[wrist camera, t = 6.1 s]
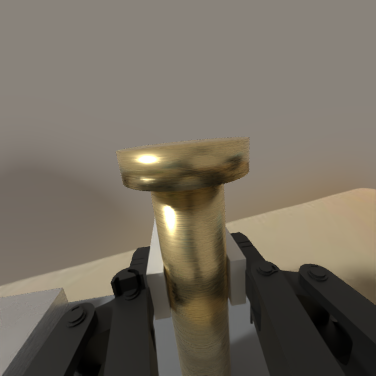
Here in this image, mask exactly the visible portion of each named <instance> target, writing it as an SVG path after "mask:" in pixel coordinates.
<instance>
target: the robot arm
mask: <svg viewBox="0 0 376 376" xmlns="http://www.w3.org/2000/svg"><path fill="white" fill-rule="evenodd" d="M225 228H226V227H225ZM226 255H227V281H228V298H229V300H230V303H231V305H232V306H235V305H240V304H245V303H246V296H247V298H248V300H249V302H250V324H253V322H254V325H255V328H256V332H257V335H258V338H259V342H260V345H261V348H262V351H263V355H264V358H265V361H266V364H267V368H268V371H269V374H270V376H376V305H374V304H373V303H372V302H370V301H369V300H368V299H366V298H365V297H364V296H362V295H361V294H360V293H358V292H357V291H356V290H354V289H353V288H352V287H350V286H349V285H348V284H346V283H345V282H344V281H342V280H341V279H340V278H338V277H337V276H336V275H334V274H333V273H332V272H330V271H329V270H327V269H325V268H324V267H321V266H319V265H315V264H304V265H302V266H301V267H300V269H299V272H291V271H283V270H280V269H279V268H278V267H277V266H276V265H275V264H273V263H271V262H268V261H265V259H264V258H263V257H262V256H261V254H260V253H259V252H258V251H257V249H256V248H255V247H254V246H253V244H252V243H251V242H250V240H249V239H248V238H247V237H246V236H245V235H243V234H242V233H240V232H238V233H231V234H230V233H229V231H228V230H227V228H226ZM111 286H112V289H113V293H114V296H115V298H114V299H113V300H111V301H109V302H107V303H105V304H103V305H101V306H98V307H96V308H95V307H94V305H93V304H91V303H86V302H85V303H81V304H78V305H76V306H74V307H72V308H71V309H70V310H68V311H67V312H66V313H65V314H64V315H63V316H62V317H61V319H60V320H59V321H58V323H57V324H56V326H55V327H54V329H53V330H52V332H51V333H50V335H49V336H48V338H47V339H46V341H45V342H44V344H43V345H42V347H41V348H40V350H39V351H38V353H37V354H36V356H35V357H34V359H33V360H32V362H31V363H30V365H29V366H28V368H27V369H26V371H25V372H24V374H23V375H22V376H159V372H158V361H157V349H156V338H155V329H154V324H153V320H154V316H155V320H159V319H164V318H170V317H171V306H170V300H169V294H168V288H167V282H166V276H165V270H164V265H163V261H162V256H161V250H160V244H159V238H158V232H157V226H156V220H154V228H153V233H152V240H151V246H148V247H142V248H138V249H137V250H136V251H135V252H134V254H133V257H132V261H131V263H130V267H129V268H126V269H123V270H121V271H120V272H118V273H117V274H116V275H115V276H114V277H113V279H112V281H111Z"/></svg>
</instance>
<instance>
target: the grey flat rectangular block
mask: <svg viewBox="0 0 376 376" xmlns="http://www.w3.org/2000/svg"><path fill="white" fill-rule="evenodd" d="M70 309H71V308H70V305H69V302H68V300H67V297H66V295H65V292H64V290H63V288H58V289H51V290H45V291H39V292H33V293H27V294H21V295H15V296H8V297H2V298H0V376H22V375H23V374H24V372H25V371H26V369H27V368H28V366H29V365H30V363H31V362H32V360H33V359H34V357H35V356H36V354H37V353H38V351H39V350H40V348H41V347H42V345H43V344H44V342H45V341H46V339H47V338H48V336H49V335H50V333H51V332H52V330H53V329H54V327H55V326H56V324H57V323H58V321H59V320H60V319H61V317H62V316H63V315H64V314H65V313H66V312H67V311H68V310H70Z"/></svg>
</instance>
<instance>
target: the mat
mask: <svg viewBox="0 0 376 376" xmlns="http://www.w3.org/2000/svg"><path fill="white" fill-rule="evenodd" d="M114 298H115V296H114V295H110V296H105V297H99V298H93V299H87V300H81V301H75V302H69V305H70V308H72V307H74V306H76V305H78V304H81V303H85V302H86V303H91V304H93V305H94V307H95V308H96V307H98V306H101V305H103V304H105V303H107V302H109V301H111V300H113V299H114ZM228 306H229V332H230V358H231V376H270V374H269V371H268V368H267V364H266V361H265V358H264V355H263V351H262V348H261V345H260V342H259V338H258V335H257V332H256V328H255V325H254V322H253V324H250V302H249V300H248V298H247V296H246V303H245V304H240V305H235V306H232V305H231V303H230V300H229V298H228ZM153 324H154V329H155V338H156V349H157V361H158V372H159V376H182V374H181V368H180V362H179V357H178V351H177V345H176V339H175V333H174V327H173V321H172V315H171V317H170V318H164V319H159V320H155V316H154V320H153Z"/></svg>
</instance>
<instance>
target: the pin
mask: <svg viewBox="0 0 376 376" xmlns="http://www.w3.org/2000/svg"><path fill="white" fill-rule="evenodd" d="M116 154H117V159H118V163H119V168H120V172H121V177H122V182H123V185H124V186H126V187H128V188H131V189H135V190H142V191H151V196H152V203H153V208H154V214H155V220H156V226H157V232H158V238H159V244H160V250H161V256H162V261H163V265H164V270H165V276H166V282H167V288H168V294H169V300H170V306H171V315H172V321H173V327H174V333H175V339H176V345H177V351H178V357H179V362H180V368H181V374H182V376H231V358H230V332H229V306H228V281H227V255H226V228H225V202H224V184H225V183H228V182H232V181H235V180H237V179H240V178H242V177H244V176H245V175H246V174H248V172H249V137H233V138H232V137H231V138H215V139H202V140H192V141H181V142H172V143H163V144H155V145H147V146H140V147H134V148H127V149H122V150H118V151H116Z"/></svg>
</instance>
